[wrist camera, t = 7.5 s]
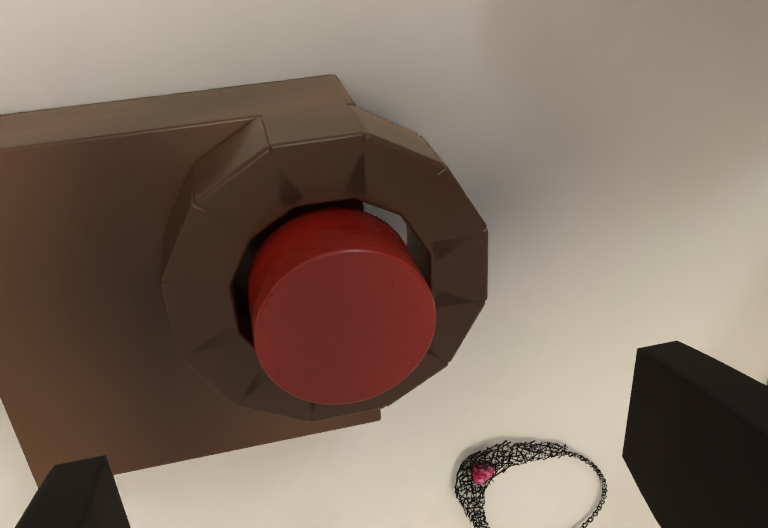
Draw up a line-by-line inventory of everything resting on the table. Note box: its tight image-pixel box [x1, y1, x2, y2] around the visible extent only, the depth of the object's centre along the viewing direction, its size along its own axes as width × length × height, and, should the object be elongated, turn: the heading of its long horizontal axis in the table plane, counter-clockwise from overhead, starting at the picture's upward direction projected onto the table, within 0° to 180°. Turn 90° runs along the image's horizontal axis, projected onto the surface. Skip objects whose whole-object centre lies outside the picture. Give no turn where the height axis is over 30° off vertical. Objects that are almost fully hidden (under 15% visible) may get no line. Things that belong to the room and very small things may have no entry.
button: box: [247, 207, 436, 405], centre depth 13 cm, size 3×3×2 cm
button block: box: [0, 75, 488, 489], centre depth 16 cm, size 10×8×4 cm
